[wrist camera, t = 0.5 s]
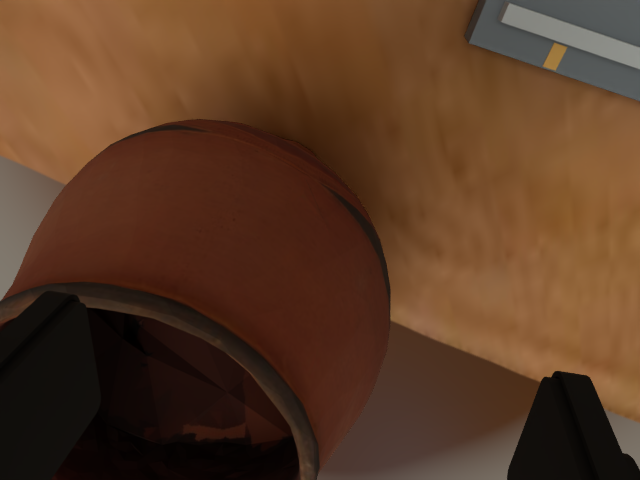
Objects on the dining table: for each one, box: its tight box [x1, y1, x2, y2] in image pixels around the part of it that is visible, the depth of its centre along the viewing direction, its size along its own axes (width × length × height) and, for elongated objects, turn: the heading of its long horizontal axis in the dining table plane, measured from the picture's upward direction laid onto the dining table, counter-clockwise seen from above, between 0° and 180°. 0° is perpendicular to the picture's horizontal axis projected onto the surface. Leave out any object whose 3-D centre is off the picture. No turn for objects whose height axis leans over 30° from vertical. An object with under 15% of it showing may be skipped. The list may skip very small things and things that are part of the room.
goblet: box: [0, 119, 390, 480], centre depth 31 cm, size 19×19×25 cm
